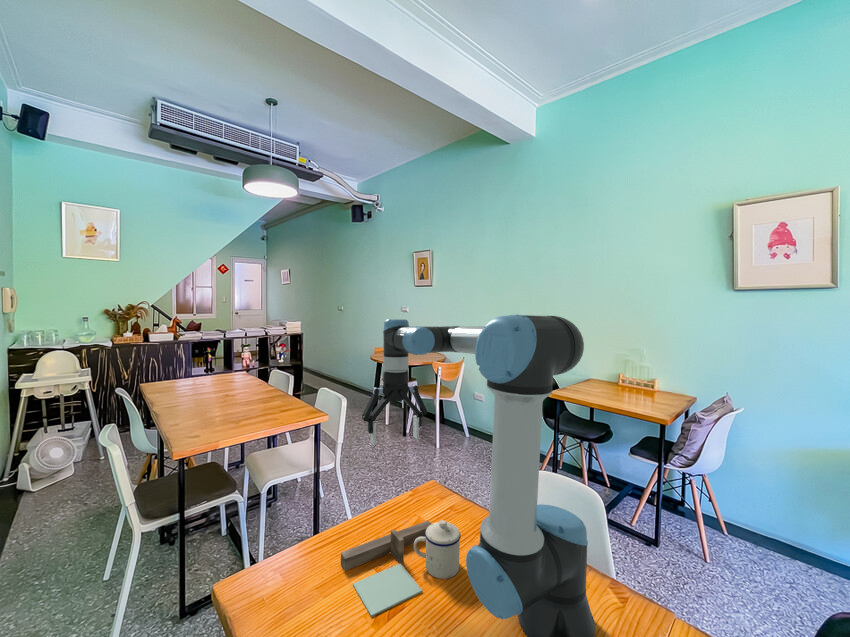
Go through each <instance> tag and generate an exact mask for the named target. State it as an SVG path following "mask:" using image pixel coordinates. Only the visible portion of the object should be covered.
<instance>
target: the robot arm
mask: <svg viewBox="0 0 850 637" xmlns="http://www.w3.org/2000/svg"><path fill="white" fill-rule="evenodd" d="M409 324H410V323H409V320H407V319H406V318H405V319H401V318H398V319H395V318H394V319H391V318H390V319H389V318H388V319H386V320H384V322H383V332H382V333H383V337H382V338H383V361H382V362H383V370H384V371H383V375H382V387H376V386H373V387H372V391H371V396H370V398H369V401H368V403H367V405H366V406H365V409H364V410H363V413H362V415H361V416H360V417H361V420H363V421H364V422H367V432H368V434H370V443H371V445H372V446H376V445H377V422H376V419H377V418H378V416H380V414H381V413H382V411H383V410H384V408H385V407H386V406H387V405H388V404H389V403H395V402H402V401H404V403H406V404H407V405H408V407H409V408H410V410H411V411H412V412H413V413H414V415H413V416H412V420H413V421H412V422H413V423H412V425H413V426H412V427H413V428H412V436H413V438H414V439H415V440H419V439H420V438H419V437H420V428H421V427H422V418H424V415H427V414H428V410H427V408H426V406H425V403H424V402H423V401H424V400H423V399H422V397H421V395H420V392H419V387H418V385H416V384H414V383H412V384H411V385H409V371H408V369H409V354H411V355H414V356H424V355H427V354H431V353H432V354H433V353H462V354H464V353H465V354H471V355H473V354H474V356H475V363H476V365H477V366H479V367H478V370H479V372H480V374H481V376H483V377H484V379H486V380H487V381H486V387H487V389H489V391H490V392H491V393H492V394H493V395H494V402H493V404H494V406H493V422H492V423H493V425H492V446H491V448H492V449H491V450H492V451H491V465H490V466H491V468H490V469H491V471H490V489H489V490H490V491H489V510H488V513H489V514H488V516H486V517H484V519H483V520H482V522H481V523H480V528H479V529H480V532H479V534H480V535H479V543H478V544H477V545H473V546H472V547H471V548H470V549H469V550H468V551H467V553H466V556H465V558H466V559H465V566H466V572H467V576H468V578H469V581H470V584H471V587H472V589H473V591H474V593H475V595H476V597H477V599H478V600H479V601H480V602H481V604H482V605H483V607H484V608H485V609H486V610H487V611H488V612H489V613H490V614H491V615H493V616H494V617H496V618H498V619H500V620H508V619H510V618H513V617H514V616H516V615H517V617H518V622H519V624H520V627H521V629H522V631H523V632H524V635H526V636H527V637H596V624H595V619H594V616H593V613H592V611H591V608H590V604H589V600H588V596H587V570H588V569H587V562H588V558H587V557H588V544H589V541H588V534H587V533H588V532H587V527H586V525H585V523H584V522H583V520H582V519H581V518H579V516H578V515H576V514H575V513H573V512H571V511H569V510H567V509H564V508H562V507H559V506H555V505H551V504H544V503H543V504H541V503H540V504H538V497H539V496H538V494H539V481H540V480H539V478H540V477H539V476H540V475H539V474H540V460H541V459H540V458H541V457H540V456H541V442H542V441H541V440H542V438H541V437H542V424H543V423H542V421H543V420H542V419H543V418H542V417H543V402H544V401H545V399H547V397H549V396H550V395H551V394H552V393H553V383H554V381H553V380H554V376H558V375H562V374H566V373H567V372H569V371H571V370H573V368H575V367H576V366H577V365H578V364H579V362H580V361H581V360H582V357H583V354H584V350H585V343H584V337H583V335H582V332H581V331H580V329H579V328H578V327H577V326H576V324H574V323H573V322H572V321H570V319H567V318H565V317H561V316H557V315H529V314H528V315H527V314H526V315H525V314H517V313H516V314H510V315H501V316H498V317H495V318H493V319H491V320H490V321H488V323H487V324H486V325H479V326H478V325H477V326H476V325H472V326H471V325H470V326H465V325H462V326H461V325H452V326H449V325H447V326H444V325H443V326H410V325H409ZM409 392H410V393H412V395H413V397H414V400H415V402H416V403H417V406H418V407H417V406H416V405H415V404H414V402H413V401H412V400H411V399H410V397H409V396H408V393H409ZM381 394H383V396H382V398H381V399H380V401H379V403H378V404H377V405H376V403H377V401H378V398H379V396H380V395H381Z"/></svg>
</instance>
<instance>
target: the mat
mask: <svg viewBox="0 0 850 637" xmlns="http://www.w3.org/2000/svg"><path fill="white" fill-rule="evenodd" d="M352 586H353V587H354V589H355V591H356V593H357V595H358V596H359V598H360V599H361V603H363V605H364V607H365V609H366V610H367V612H368V614H369V616H370V617H371V618H372V617H375V616H376V615H378V614H380V613H382V612H385V611H387V610H388V609H392V608H393V607H394V606H397V605H398V604H401V603H403V602H404V601H407V600H409V599H411V598H413V597H415V596H418V595H420V594H421V593H422V592H423V589H422V588H421V586H420V585H419V584H418V583H417V581H416V580H415V579H414V578H413V576H411V574H410V572H408V571H407V570H406V569H405V567H404V565H402V563H400V564H399V563H397V564H396V565H394V566H391V567H389V568H387V569H384V570H382V571H379V572H377V573H374V574H372V575H369V576H368V577H365V578H363V579H360V580H358V581H355V582H353V583H352Z"/></svg>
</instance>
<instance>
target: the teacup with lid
mask: <svg viewBox="0 0 850 637" xmlns="http://www.w3.org/2000/svg"><path fill="white" fill-rule="evenodd" d="M460 541H461V532H460V529H459V528H458V527H457V526H456V525H455V524H453V523H450V522H447V520H443V519H441V520H439V521H437V522H434V523H431V525H430V526H429V527H428V528H427V529H426V532H425V537H418V538H416V539H415V541H414V544H413V550H414V553H415V554H416V555H417V556H418V557H420V558H424V559H425V569H426V570H427V573H428V574H429V575H431V576H433V577H434V578H437V579H443V580H444V579H446V580H447V579H451V578H453V577H454V576H456V575H457V574H458V572H459V570H460V551H461V550H460V547H461V546H460ZM419 542H425V552H422V551H420V549H419V548H418V546H417V545H418V543H419Z"/></svg>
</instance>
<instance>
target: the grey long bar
mask: <svg viewBox="0 0 850 637" xmlns="http://www.w3.org/2000/svg"><path fill="white" fill-rule="evenodd" d="M431 524H432V522H430V521H429V520H425V521H423V522H419V523H416V524H415V525H412V526H409V527H406V528H404V529H401V530H398V531H397V530H396V529H392V530H390V534H387V535H385V536H382V537H379V538H376V539H373V540H371V541H368V542H365V543H362V544H359V545H357V546H355V547H352V548H348V549H347V550H343V551H340V565H341V567H342V569H343V571H345V572H346V571H348V570H351V569H353V568H356V567H358V566H361V565H364V564H366V563H369V562H371V561H373V560H376V559H378V558H381V557H383V556H386V555H388V554H391V555H392V557H394V559H395V560H396V561H397V562H398V564H400V563H401V564H402V563H404V555H405V554H404V550H405V548H406V547H408V546H411V545H414V541H415V539H416V538H418V537H425V532H426V529H427V528H428V527H429V526H430V525H431Z"/></svg>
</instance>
